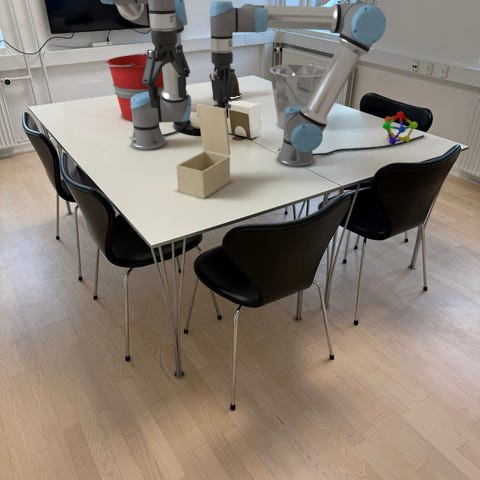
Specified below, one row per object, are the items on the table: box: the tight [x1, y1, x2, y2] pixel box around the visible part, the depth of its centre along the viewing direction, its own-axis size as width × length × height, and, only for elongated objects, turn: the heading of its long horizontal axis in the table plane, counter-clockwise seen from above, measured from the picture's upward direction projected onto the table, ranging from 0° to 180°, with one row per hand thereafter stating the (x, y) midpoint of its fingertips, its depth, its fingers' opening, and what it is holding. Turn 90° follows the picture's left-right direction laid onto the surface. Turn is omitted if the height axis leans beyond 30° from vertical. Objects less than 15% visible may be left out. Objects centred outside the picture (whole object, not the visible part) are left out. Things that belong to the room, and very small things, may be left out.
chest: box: [176, 150, 231, 199], centre depth 166 cm, size 17×12×10 cm
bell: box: [229, 72, 242, 97], centre depth 278 cm, size 19×26×20 cm
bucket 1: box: [103, 51, 164, 122], centre depth 240 cm, size 35×35×30 cm
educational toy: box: [382, 110, 418, 145], centre depth 207 cm, size 16×13×15 cm
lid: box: [196, 101, 232, 157], centre depth 166 cm, size 18×12×9 cm
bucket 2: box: [269, 63, 327, 129], centre depth 226 cm, size 30×30×28 cm
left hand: (169, 102), depth 141 cm, fingers open, 13 cm apart
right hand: (223, 118), depth 166 cm, fingers closed on lid, 2 cm apart
